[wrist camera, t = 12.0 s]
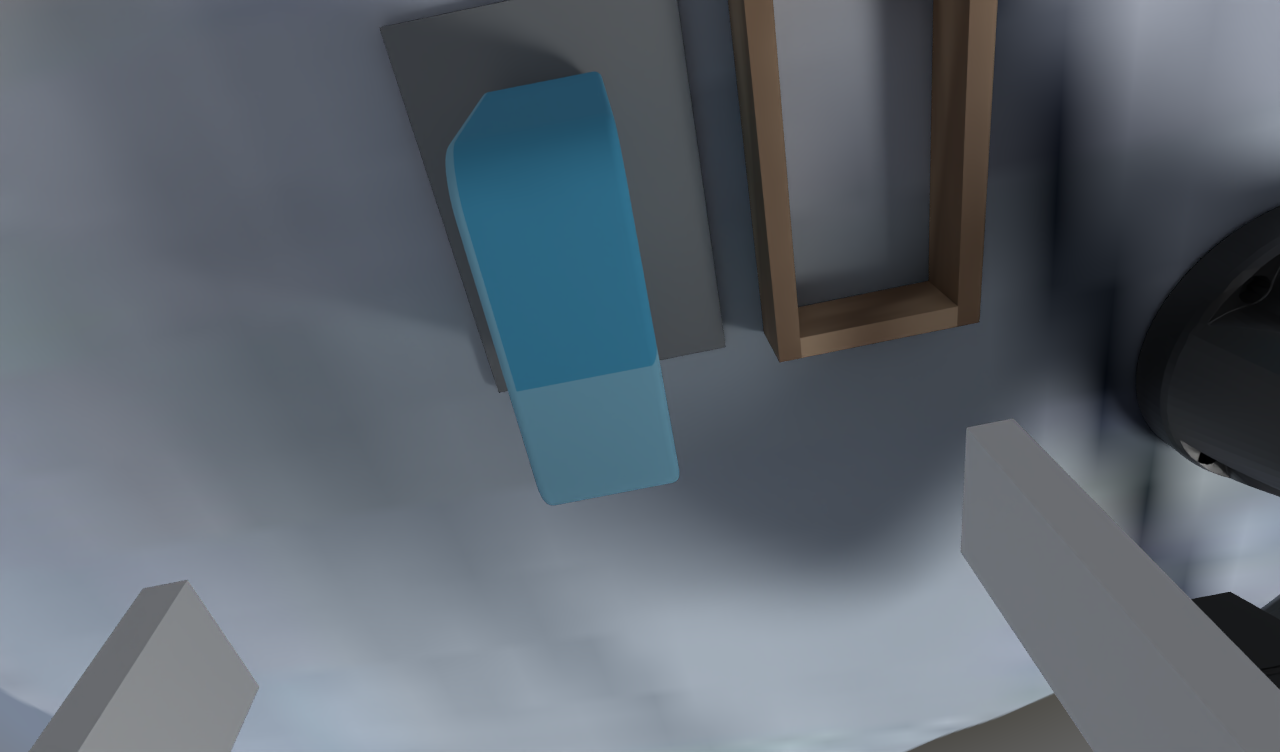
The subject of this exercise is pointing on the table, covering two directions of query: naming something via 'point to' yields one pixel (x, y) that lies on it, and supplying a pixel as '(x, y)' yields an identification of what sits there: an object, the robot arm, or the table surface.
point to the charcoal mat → (643, 112)
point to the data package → (563, 285)
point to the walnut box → (954, 189)
